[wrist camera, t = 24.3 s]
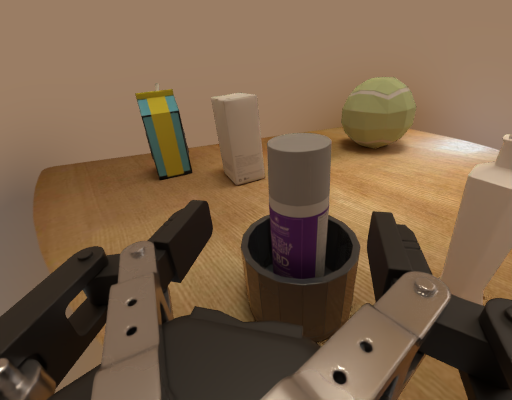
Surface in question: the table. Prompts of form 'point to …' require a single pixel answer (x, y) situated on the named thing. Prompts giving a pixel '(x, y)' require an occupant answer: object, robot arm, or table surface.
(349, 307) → the cylindrical pot
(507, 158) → the white faceted vase
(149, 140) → the carton
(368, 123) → the decorative sphere
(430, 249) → the table surface
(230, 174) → the cosmetic box
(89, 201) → the table surface
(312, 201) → the container
